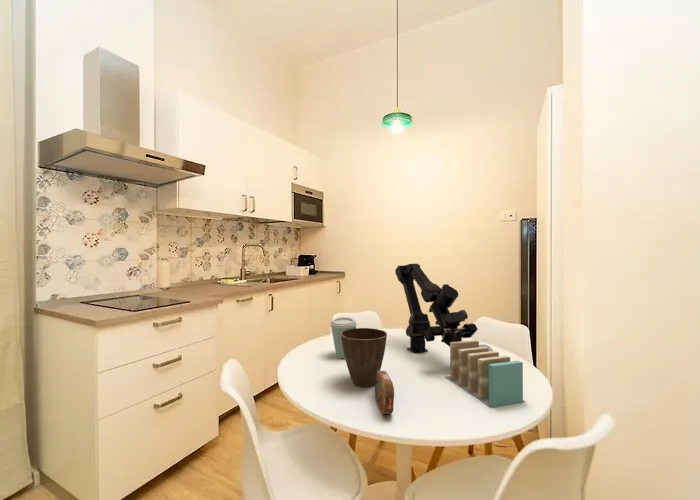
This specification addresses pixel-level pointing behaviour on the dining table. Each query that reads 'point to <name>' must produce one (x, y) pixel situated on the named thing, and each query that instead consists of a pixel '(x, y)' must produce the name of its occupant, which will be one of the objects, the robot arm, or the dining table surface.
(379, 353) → the plant pot
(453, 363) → the domino
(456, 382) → the mat
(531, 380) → the dining table surface
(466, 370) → the domino
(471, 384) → the domino
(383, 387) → the tin
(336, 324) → the disposable coffee cup
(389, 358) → the dining table surface
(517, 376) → the domino
